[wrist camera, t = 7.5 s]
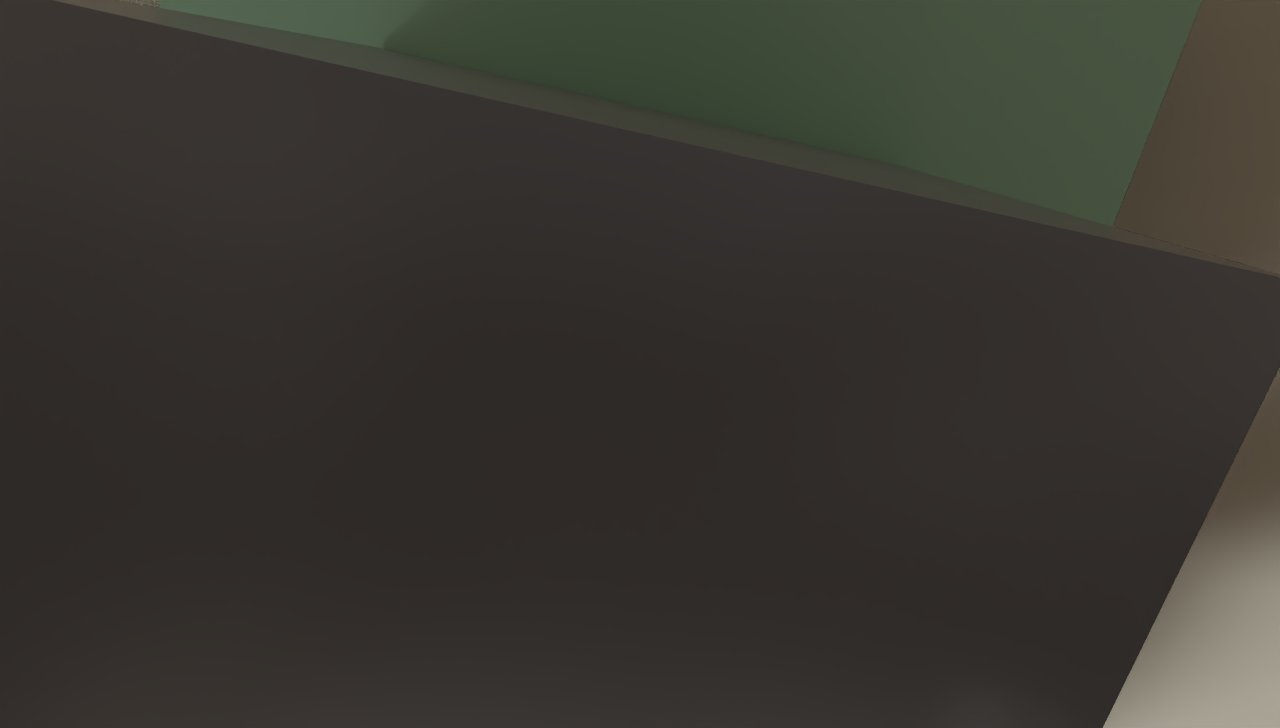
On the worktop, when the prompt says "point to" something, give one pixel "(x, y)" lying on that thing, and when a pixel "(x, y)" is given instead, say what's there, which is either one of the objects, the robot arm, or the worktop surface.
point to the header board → (825, 72)
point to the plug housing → (562, 407)
